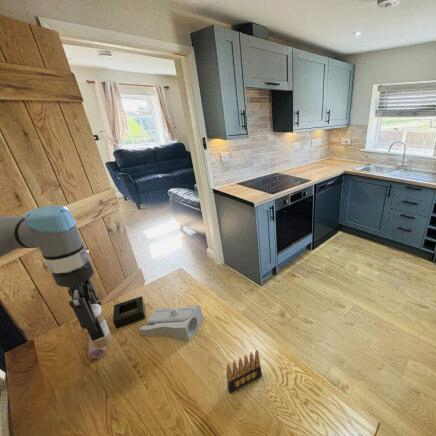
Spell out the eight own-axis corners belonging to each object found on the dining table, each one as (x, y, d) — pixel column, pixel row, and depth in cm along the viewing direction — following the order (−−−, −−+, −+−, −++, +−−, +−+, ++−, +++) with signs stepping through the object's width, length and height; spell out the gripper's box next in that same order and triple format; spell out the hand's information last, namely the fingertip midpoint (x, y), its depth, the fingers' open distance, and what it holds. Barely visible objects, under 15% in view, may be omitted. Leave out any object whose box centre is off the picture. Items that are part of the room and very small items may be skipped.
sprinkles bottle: (90, 348, 70) (74, 314, 64) (102, 335, 74) (88, 302, 68) (105, 350, 69) (90, 316, 64) (116, 336, 73) (103, 303, 68)
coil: (104, 347, 80) (103, 313, 93) (86, 353, 77) (88, 317, 90) (106, 356, 82) (105, 322, 95) (89, 363, 79) (90, 327, 92)
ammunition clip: (259, 371, 78) (258, 346, 73) (262, 376, 76) (260, 350, 72) (227, 388, 73) (223, 362, 68) (229, 393, 72) (225, 367, 67)
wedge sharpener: (189, 341, 88) (186, 327, 85) (140, 334, 90) (135, 321, 87) (203, 318, 97) (201, 305, 95) (158, 312, 100) (154, 299, 97)
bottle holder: (115, 329, 92) (112, 321, 90) (116, 312, 100) (114, 305, 98) (145, 318, 97) (143, 311, 95) (144, 303, 104) (141, 296, 103)
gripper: (85, 280, 55) (113, 348, 65) (93, 246, 68) (115, 307, 78) (41, 291, 51) (78, 362, 61) (58, 253, 65) (86, 316, 74)
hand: (99, 331), depth 70 cm, fingers closed on sprinkles bottle, 4 cm apart
